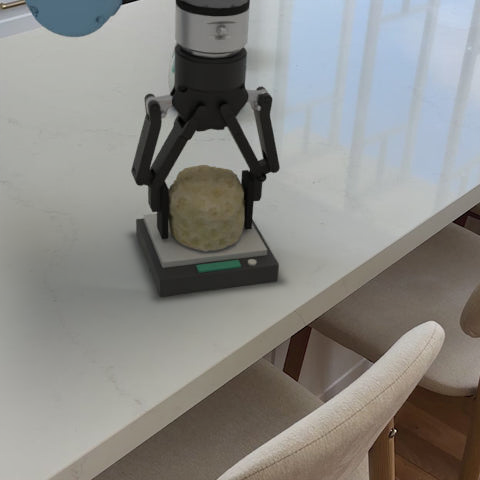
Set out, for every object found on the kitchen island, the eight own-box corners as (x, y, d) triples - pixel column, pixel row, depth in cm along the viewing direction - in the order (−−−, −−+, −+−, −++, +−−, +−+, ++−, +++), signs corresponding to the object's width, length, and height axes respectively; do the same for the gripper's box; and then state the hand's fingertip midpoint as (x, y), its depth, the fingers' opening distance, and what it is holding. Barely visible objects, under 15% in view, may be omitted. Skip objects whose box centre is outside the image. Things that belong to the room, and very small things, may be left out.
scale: (159, 297, 99) (159, 273, 97) (136, 235, 109) (136, 213, 107) (277, 281, 104) (279, 258, 102) (244, 223, 113) (246, 201, 112)
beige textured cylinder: (244, 244, 109) (232, 164, 109) (258, 244, 100) (245, 156, 99) (170, 255, 108) (157, 174, 107) (176, 256, 98) (162, 166, 97)
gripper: (111, 64, 86) (117, 256, 99) (322, 53, 93) (302, 234, 105) (98, 36, 92) (105, 221, 104) (298, 28, 98) (282, 202, 111)
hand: (204, 228), depth 105 cm, fingers closed on beige textured cylinder, 9 cm apart
